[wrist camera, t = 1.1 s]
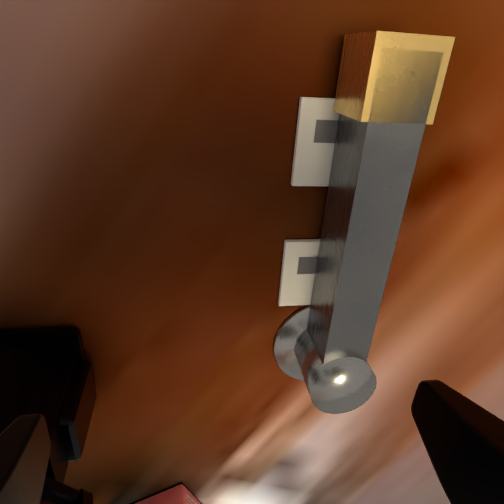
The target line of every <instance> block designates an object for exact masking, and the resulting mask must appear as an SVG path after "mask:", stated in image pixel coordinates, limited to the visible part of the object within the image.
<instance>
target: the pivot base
mask: <svg viewBox="0 0 504 504" xmlns="http://www.w3.org/2000/svg"><path fill="white" fill-rule="evenodd" d="M309 311H310V305H308V306H305V307H303V308H301V309H300V310H298V311H296V312H295V313H293V314H292V315H291V316H290V317H289V318H287V319H286V320H285V322H284V323H283V324H282V325H281V327H280V328H279V330H278V332H277V334H276V336H275V339H274V345H273V350H274V356H275V359H276V362H277V364H278V366H279V367H280V368H281V370H282V371H283V372H284V373H286V374H287V375H289V376H290V377H293V378H295V379H298V380H303V381H304V378H303V375H302V373H301V370H300V367H299V365H298V362H297V359H296V357H295V353H294V347H295V343H296V341H297V339H298V338H299V336H300V335H301V334H302V333H303V332H304V331H305V330H306V329H307V324H308V317H309Z"/></svg>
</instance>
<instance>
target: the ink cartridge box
mask: <svg viewBox="0 0 504 504" xmlns="http://www.w3.org/2000/svg"><path fill="white" fill-rule="evenodd" d="M135 504H201V503H200V502H199V501H198V500H197V499H196V498H195V497H194V496H193V495H192V494H191V492H190V491H189V490H188V489H187V488H186V487H185V486H183V485H182V484H180V485H178V486H176V487H173V488H171V489H168V490H166V491H164V492H161V493H159V494H156V495H154V496H152V497H149V498H147V499H145V500H142V501H139V502H137V503H135Z"/></svg>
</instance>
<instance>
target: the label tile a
mask: <svg viewBox="0 0 504 504" xmlns="http://www.w3.org/2000/svg"><path fill="white" fill-rule="evenodd" d="M319 245H320V239H299V240H285V241H284V251H283V260H282V269H281V279H280V288H279V298H278V305H279V306H295V305H310V304H311V297H312V291H313V284H314V278H315V271H316V265H317V258H318V251H319Z"/></svg>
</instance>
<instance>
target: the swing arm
mask: <svg viewBox="0 0 504 504" xmlns="http://www.w3.org/2000/svg"><path fill="white" fill-rule="evenodd" d="M454 40H455V37H448V36H436V35H424V34H411V33H399V32H387V31H369V32H360V33H351V34H345V35H344V42H343V49H342V56H341V63H340V69H339V76H338V83H337V90H336V97H335V104H334V112H337V113H339V120H338V127H337V133H336V140H335V146H334V153H333V159H332V166H331V173H330V179H329V186H328V192H327V199H326V205H325V212H324V219H323V225H322V232H321V238H320V245H319V251H318V258H317V265H316V271H315V278H314V284H313V291H312V297H311V304H310V311H309V317H308V324H307V329H306V330H305V331H304V332H303V333H302V334H301V335H300V336H299V338H298V339H297V341H296V343H295V347H294V353H295V357H296V359H297V362H298V365H299V367H300V370H301V373H302V375H303V378H304V381H305V383H306V386H307V389H308V391H309V394H310V397H311V399H312V402H313V404H314V405H315V407H316V408H318V409H319V410H321V411H323V412H326V413H330V414H339V413H345V412H348V411H351V410H354V409H356V408H358V407H359V406H361V405H362V404H364V403H365V402H366V401H367V400H368V399H369V398H370V397H371V395H372V394H373V392H374V390H375V388H376V376H375V374H374V372H373V371H372V369H371V367H370V366H369V364H368V362H367V357H368V353H369V349H370V345H371V341H372V337H373V333H374V329H375V325H376V321H377V317H378V313H379V309H380V305H381V301H382V297H383V293H384V289H385V285H386V281H387V277H388V273H389V269H390V265H391V261H392V257H393V253H394V249H395V245H396V241H397V237H398V233H399V229H400V225H401V221H402V217H403V213H404V209H405V205H406V201H407V197H408V193H409V189H410V185H411V181H412V177H413V173H414V169H415V165H416V161H417V157H418V153H419V149H420V145H421V141H422V137H423V133H424V129H425V125H426V124H433V121H434V117H435V113H436V109H437V106H438V102H439V98H440V94H441V90H442V86H443V82H444V78H445V75H446V71H447V67H448V63H449V59H450V55H451V51H452V47H453V44H454Z"/></svg>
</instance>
